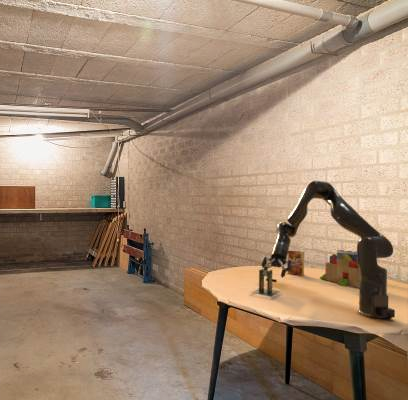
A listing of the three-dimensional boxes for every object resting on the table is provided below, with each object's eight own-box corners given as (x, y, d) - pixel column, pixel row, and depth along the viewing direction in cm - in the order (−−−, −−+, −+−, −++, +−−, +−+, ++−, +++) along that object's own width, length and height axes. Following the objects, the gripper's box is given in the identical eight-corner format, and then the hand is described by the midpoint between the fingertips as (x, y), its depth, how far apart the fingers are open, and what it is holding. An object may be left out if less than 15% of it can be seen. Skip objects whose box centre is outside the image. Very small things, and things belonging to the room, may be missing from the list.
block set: (315, 279, 210) (316, 247, 210) (331, 277, 215) (332, 246, 215) (363, 291, 184) (364, 255, 184) (381, 288, 189) (381, 253, 189)
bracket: (259, 290, 183) (260, 266, 183) (280, 294, 176) (280, 269, 176) (250, 295, 173) (251, 270, 173) (271, 299, 166) (272, 273, 166)
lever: (266, 282, 183) (267, 277, 183) (276, 283, 179) (277, 279, 180) (259, 273, 175) (260, 269, 176) (269, 275, 171) (270, 270, 172)
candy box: (287, 273, 226) (287, 250, 226) (289, 272, 229) (289, 249, 229) (302, 275, 219) (302, 252, 219) (304, 274, 222) (304, 251, 222)
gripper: (265, 245, 194) (257, 269, 186) (293, 248, 185) (286, 273, 176) (268, 254, 198) (261, 277, 190) (295, 257, 189) (289, 281, 180)
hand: (273, 275), depth 183 cm, fingers open, 8 cm apart
